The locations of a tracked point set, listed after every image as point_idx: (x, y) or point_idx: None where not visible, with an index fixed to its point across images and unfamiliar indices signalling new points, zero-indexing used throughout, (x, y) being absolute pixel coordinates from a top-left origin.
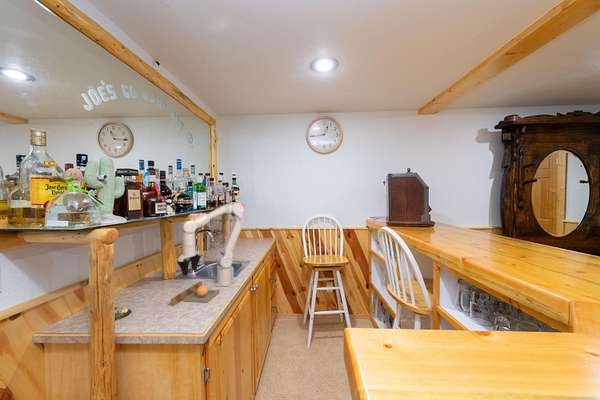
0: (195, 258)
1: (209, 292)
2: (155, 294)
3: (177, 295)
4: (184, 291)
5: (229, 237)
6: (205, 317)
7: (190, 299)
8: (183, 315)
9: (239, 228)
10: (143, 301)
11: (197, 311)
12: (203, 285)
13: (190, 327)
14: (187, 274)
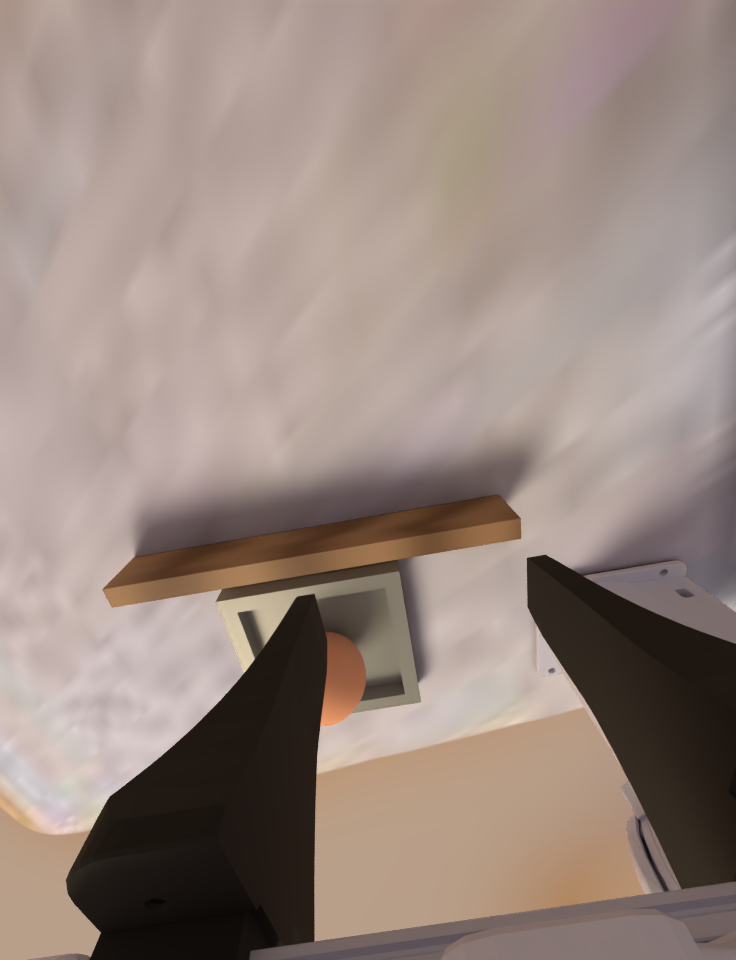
0: (682, 816)
1: (395, 645)
2: (224, 192)
3: (174, 582)
4: (262, 573)
5: None
6: None
7: (232, 637)
8: (96, 700)
9: None
10: (51, 239)
11: (166, 726)
12: (333, 716)
13: (44, 788)
14: (324, 646)
